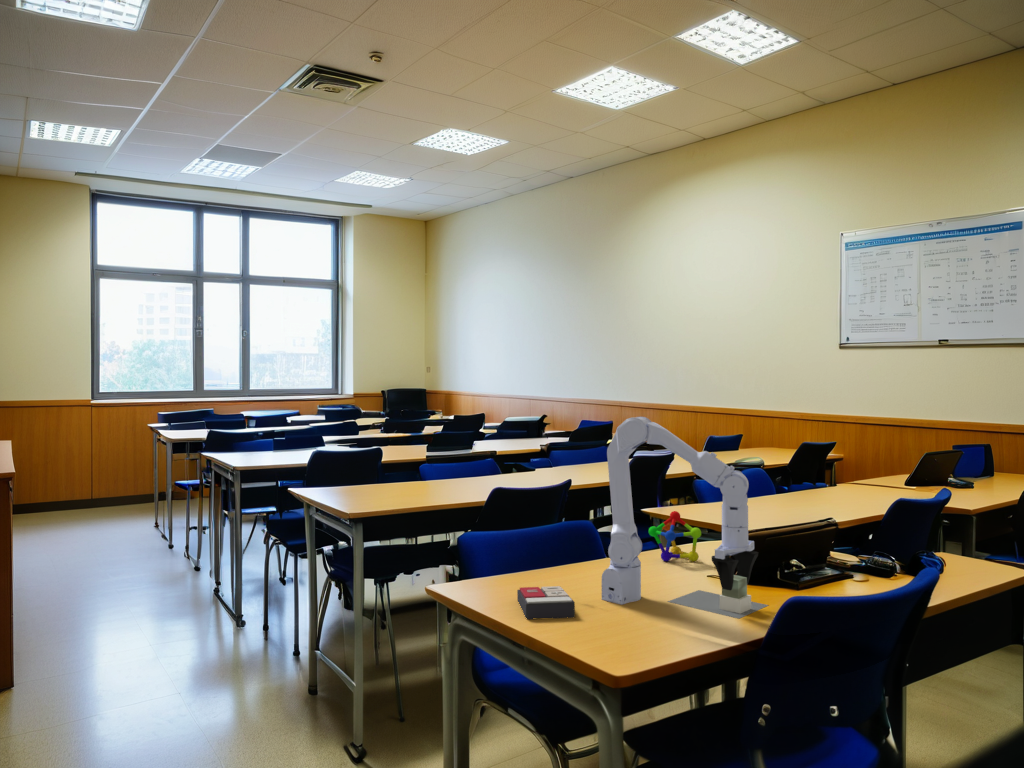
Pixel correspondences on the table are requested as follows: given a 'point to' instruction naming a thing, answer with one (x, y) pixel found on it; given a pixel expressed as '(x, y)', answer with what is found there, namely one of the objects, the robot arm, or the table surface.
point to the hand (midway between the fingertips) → (735, 586)
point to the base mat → (712, 603)
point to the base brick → (735, 603)
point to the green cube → (737, 588)
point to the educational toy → (671, 536)
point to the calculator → (545, 602)
